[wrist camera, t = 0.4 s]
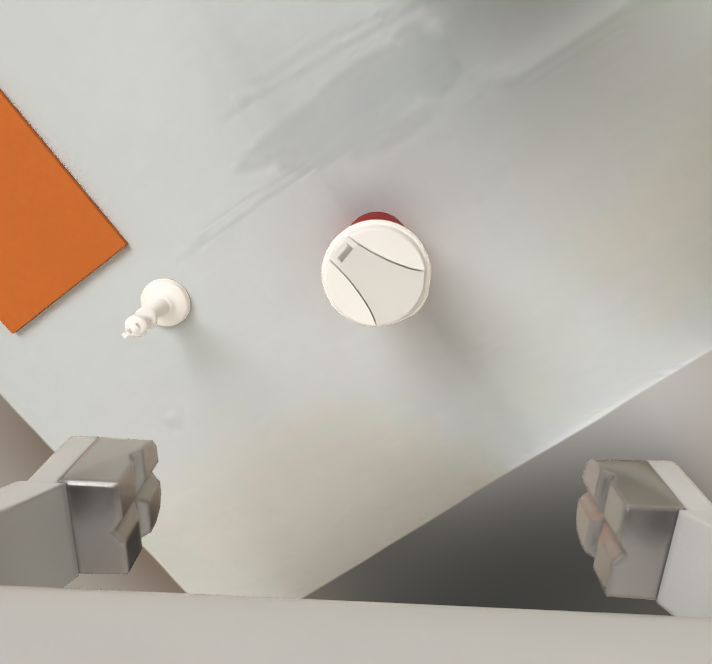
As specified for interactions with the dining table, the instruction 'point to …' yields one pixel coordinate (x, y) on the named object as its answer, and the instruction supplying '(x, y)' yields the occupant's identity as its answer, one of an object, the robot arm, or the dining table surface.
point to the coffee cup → (376, 271)
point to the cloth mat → (43, 224)
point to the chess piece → (159, 307)
